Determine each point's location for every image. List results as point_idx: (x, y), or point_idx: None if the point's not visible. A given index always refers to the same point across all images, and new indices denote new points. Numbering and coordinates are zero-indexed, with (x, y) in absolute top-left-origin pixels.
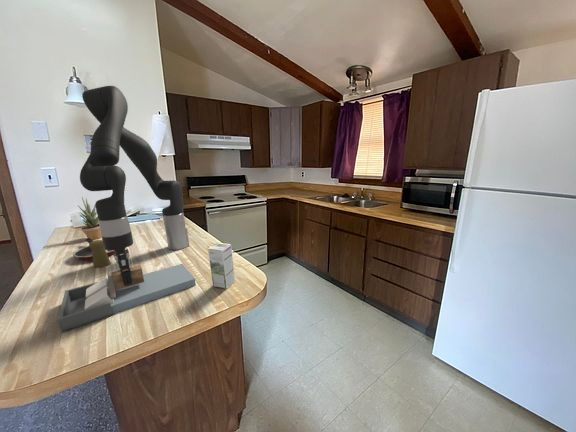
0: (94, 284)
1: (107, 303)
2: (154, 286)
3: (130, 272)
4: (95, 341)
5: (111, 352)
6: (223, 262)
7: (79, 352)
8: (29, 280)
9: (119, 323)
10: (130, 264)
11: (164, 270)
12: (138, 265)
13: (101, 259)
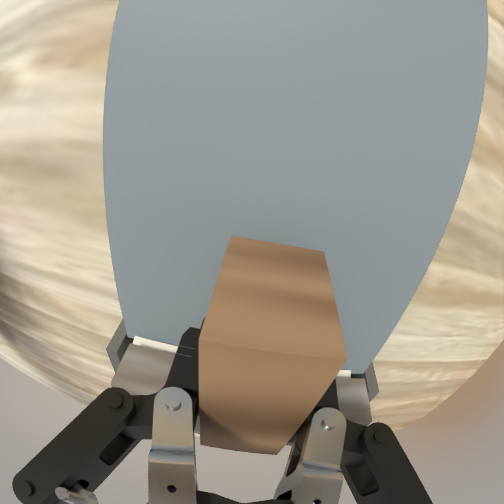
0: None
1: (371, 395)
2: (388, 193)
3: (392, 434)
4: (432, 375)
5: (489, 353)
6: None
7: (430, 390)
8: (15, 364)
9: (430, 339)
10: (342, 481)
11: (147, 34)
12: (213, 355)
13: None
